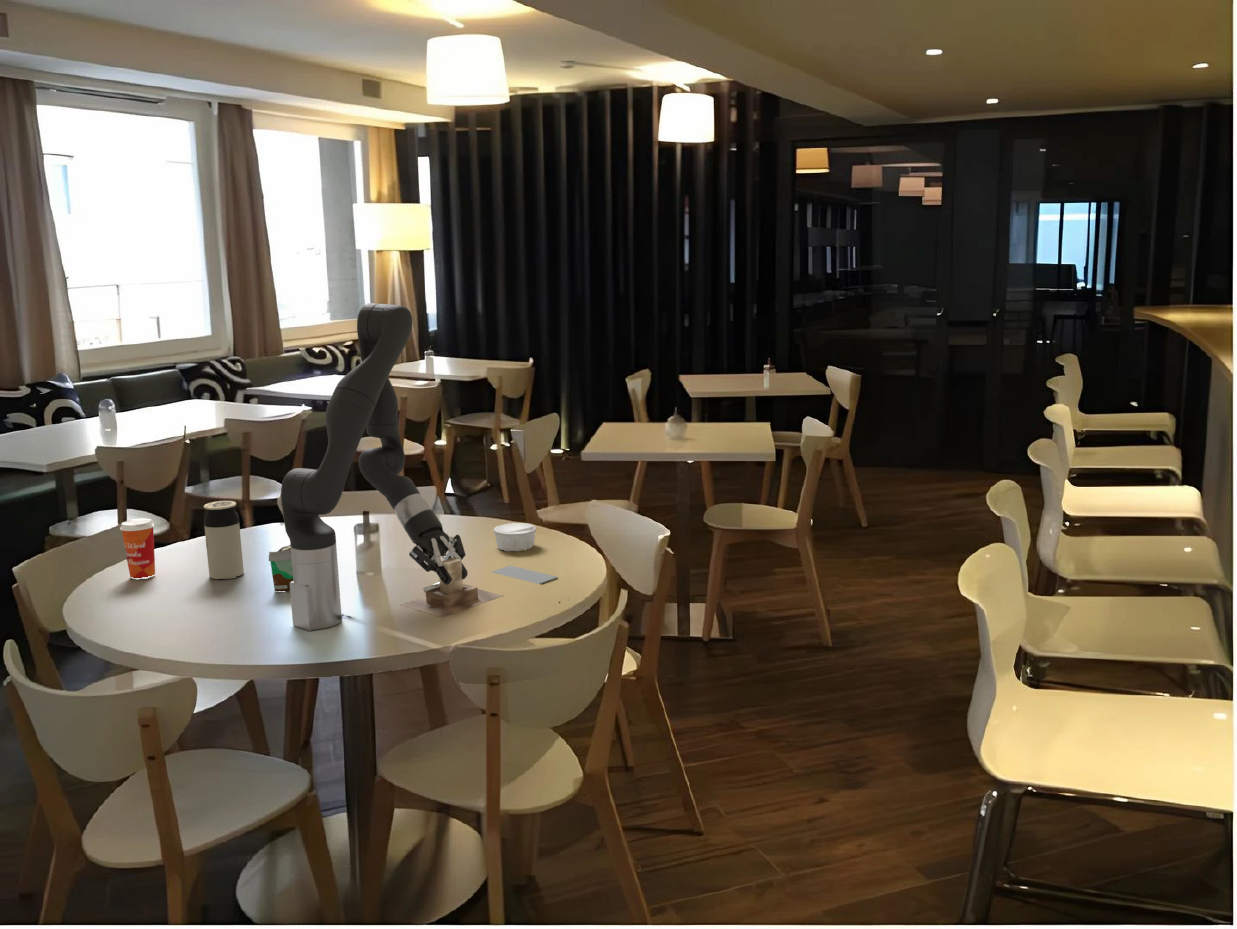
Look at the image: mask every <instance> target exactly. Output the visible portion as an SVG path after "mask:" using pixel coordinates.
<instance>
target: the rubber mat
mask: <svg viewBox="0 0 1237 929" xmlns="http://www.w3.org/2000/svg"><path fill="white" fill-rule="evenodd" d="M491 573H493V574H496V575H501V576H505V577H510V578H512V579H517V580H522V581H525V582H528V583H529V582H530V583H533V584H538V585H544V584H546V583H549V582H551V581H550V580H552V581H554V580H553V579H555V580H557V578H559V576H557V575H553V574H548V573H544V572H540V571H535V570H532V569H526V568H522V567H517V566H514V565H507V566H505V567H502V568H499V569H495V570H493V571H491ZM548 581H549V582H548ZM545 582H546V583H545ZM543 583H544V584H543Z"/></svg>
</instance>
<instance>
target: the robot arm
mask: <svg viewBox="0 0 1237 929" xmlns="http://www.w3.org/2000/svg"><path fill="white" fill-rule="evenodd" d="M356 321H357V322H356V330H357V340H358V347H359V352H360V353H359V354H360V361H361V362H360V363H359V364H358V365H356V366H355V367H354V368H352V369H351V370H350V371H349V372H348V373H347V374H346V375H344V377H342V378H341V379H340V381H339V382H338V383H337V385H336V386H335V389H334V390H333V393H332V395H331V397H330V399H329V401H328V403H327V406H326V408H325V409H326V410H325V426H326V431H327V432H326V433H327V442H328V444H327V447H326V452H325V454H324V457H323V459H322V461H321V463H320V465H319V467H318V469H313V468H304V467H303V468H302V467H299V468H293V469H291V470H289V471H288V472H287V473H286V474H285V475H284V477H283V480H282V482H281V486H280V487H281V488H280V499H281V508H282V514H283V515H282V516H283V522H284V523H283V524H284V529H285V534H286V535H287V537H288V538H289V541H290V542H289V543H290V544H289V545H291V556H292V569H293V581H292V582H290V591H289V594H290V595H289V596H290V603H291V604H290V606H291V618H292V626H295V627H298V628H300V629H303V630H306V631H313V630H320V629H321V630H322V629H328V628H331V627H335V626H337V625H338V624H340V623H341V622H342V620H343V616H342V614H343V613H342V605H341V604H342V602H341V591H340V589H341V587H340V577H339V576H340V575H339V565H338V564H339V562H338V552H337V551H338V550H337V549H338V548H337V538H336V537H337V536H336V535H337V534H336V531H335V529H334V528H333V527H332V526H330V525H328V524H327V523H326V522H325V521H324V520H322V518H321V516H322V515H327V514H330V513H331V512H332V511H334V510H335V508H336V507H337V505H338V503H339V501H340V500H341V497H342V495H343V492H344V488H345V486H346V482H347V479H348V475H349V472H350V469H351V466H352V463H353V461H354V457H355V455H356V452H357V450H358V447H359V444H360V442H361V440H362V438H363V435H364V433H365V430H366V433H367V435H368V436H370V437H372V438H376V439H380V443H381V446H378V447H372V448H368V449H365V450H363V451H362V452H361V454H360V455H359V457H358V468H359V470H360V473H361V475H362V476H363V478H364V479H365V480H366V481H367V482H368V483H369V484H370V486H372V487H373V488H374V489H376V490H377V491H378V492H379V493H380V494H381V495H383V496H384V498H386V500H387V502H388V503H389V505H390V506H391V509H392V510H393V511H394V513H395V515H396V517H397V520H398V521H399V523H400V524H401V526H402V528H403V529H404V531H405V533H406V534H407V536H408V537H409V539H410V540H411V542H412V543H413V544H414V545H415V546H413V547H412V549H411V550H410V551H409V552H408V555H409V557H410V558H411V559H413V560H414V561H415V563H417V564H418V566H420V568H422V569H423V570H424V571H426V572H434V573H435V574H436V575H437V576H438V579H439V580H440V579H441V581H442V582H443V583H445V585H448V584H450V582H451V581H452V577H451V576H450V574H449V573H448V572H447V570H446V569H445V567H444V566H442V561H444V560H447V559H450V558H455V559H459V560H463V559H464V557H466V550H465V548H464V544H463V542H462V538H461V536H460V534H455V535H454V536H449V535H448V533H446V532H445V531H444V529H443V528H444V527H443V524H442V522H441V521H440V519H439V518H438V516H437V515H436V513H435V511H434V510H433V509H432V507H431V505H430V504H429V502H428V500H426V498H424V497H423V495H422V494H421V493H420V491H419V489H418V488H417V486H416V485H415V483H414V482H413V479H411V478H410V477H408V476H405V475H399V474H400V473H401V472H402V471H403V469H404V466H405V463H406V455H405V450H404V447H403V444H402V439H401V436H400V432H399V428H398V427H399V402H398V397H397V394H396V391H395V389H394V386H393V384H392V382H391V380H390V378H389V376H390V374H391V372H392V370H393V368H394V366H395V364H397V361H398V359H399V358H400V355H401V354H402V352H403V350H404V349H405V347H406V345H407V343H408V341H409V339H410V336H411V333H412V330H413V315H412V312H411V311H410V309H408V308H407V307H405V306H403V305H397V304H390V303H389V304H388V303H378V302H377V303H376V302H375V303H374V302H370V303H369V302H368V303H366V304H363V305H362V307H361V308H360V309H359V312H358V315H357V320H356ZM320 515H321V516H320ZM441 558H442V559H443V560H442V559H441ZM467 577H468V570H467V569H466V566H465V565H464V564H463V563H462V580H463V581H464V580H465V579H466V578H467Z"/></svg>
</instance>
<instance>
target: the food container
mask: <svg viewBox="0 0 1237 929" xmlns="http://www.w3.org/2000/svg"><path fill="white" fill-rule="evenodd" d="M268 562H270V566H271V567H270V569H271V574H272V576H271V577H272V580H273V587H274V592H275V591H289V592H290V582H292V581H293V569H292V556H291V545H290V544H289V545H285V546H282V547H281V548H280V549H278V550H277V551H269V552H268Z"/></svg>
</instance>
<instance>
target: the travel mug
mask: <svg viewBox="0 0 1237 929" xmlns="http://www.w3.org/2000/svg"><path fill="white" fill-rule="evenodd" d="M236 506H237V502H236V501H233V500H219V501H218V500H217V501H211V502H208V503H206V504H204V505H203V508H204V509H205V515H204V518H203V526H204V536H205V545H206V546H205V547H206V556H207V565H208V575H209V578H211V579H212V580H213V579H214V580H217V579H225V580H230V579H229V578H232V579H235V578H234V577H236V578H238V577H237V576H239V577H240V576H242V575H243V574H244V573H245V572H244V560H243V548H242V540H241V537H242V536H241V529H240V528H241V526H240V517H239V514H238V512H237V511H236Z"/></svg>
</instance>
